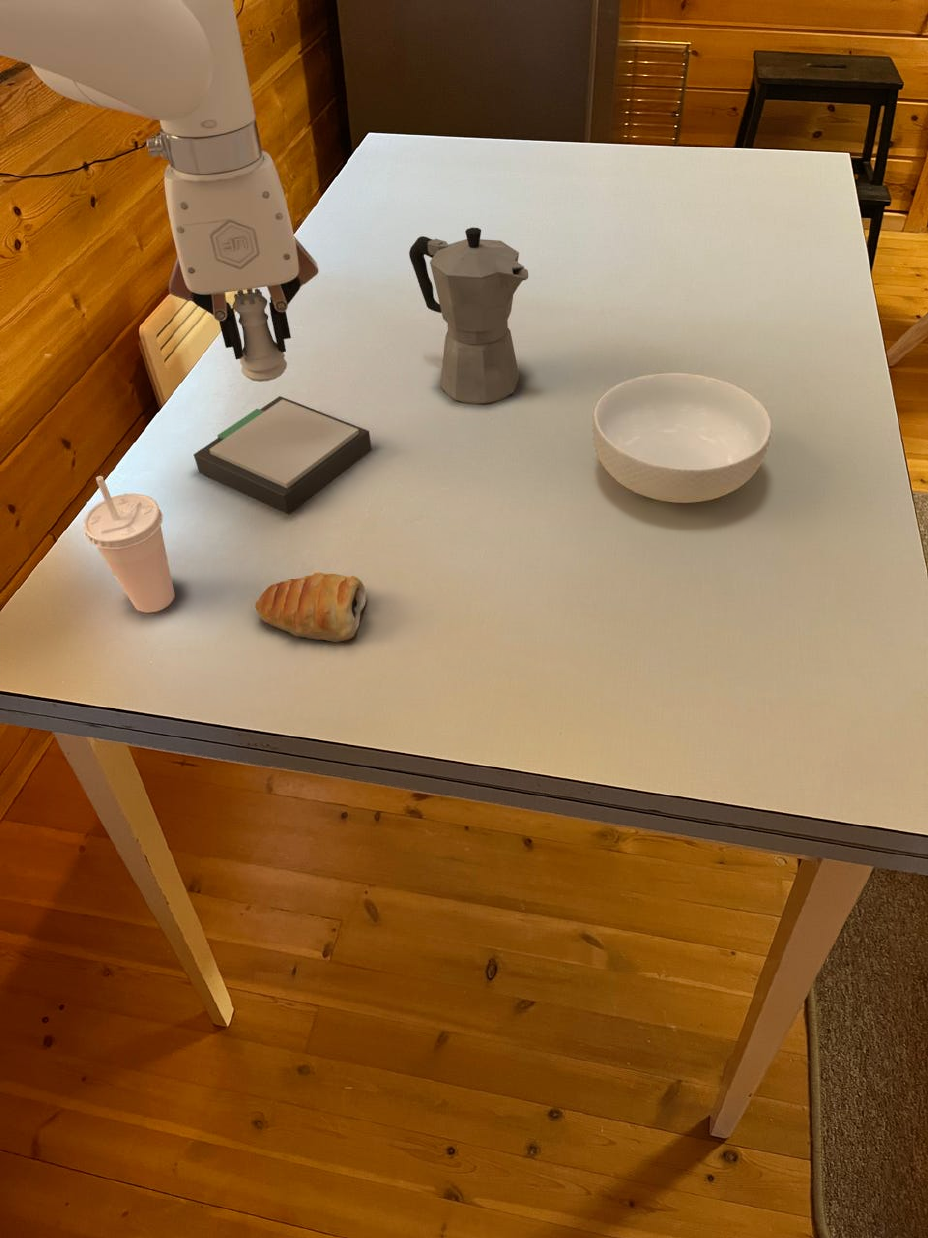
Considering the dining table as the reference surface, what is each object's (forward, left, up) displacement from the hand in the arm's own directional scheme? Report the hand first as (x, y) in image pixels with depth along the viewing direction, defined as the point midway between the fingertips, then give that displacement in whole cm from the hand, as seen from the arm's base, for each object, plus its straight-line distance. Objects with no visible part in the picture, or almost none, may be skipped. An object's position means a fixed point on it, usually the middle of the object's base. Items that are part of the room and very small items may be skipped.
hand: (259, 346), depth 89 cm
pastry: (+17, -18, -14) cm, 28 cm away
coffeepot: (+11, +22, -14) cm, 28 cm away
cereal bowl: (+38, +14, -14) cm, 43 cm away
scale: (0, 0, -13) cm, 13 cm away
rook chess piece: (0, 0, -3) cm, 3 cm away
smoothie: (+1, -22, -14) cm, 26 cm away
